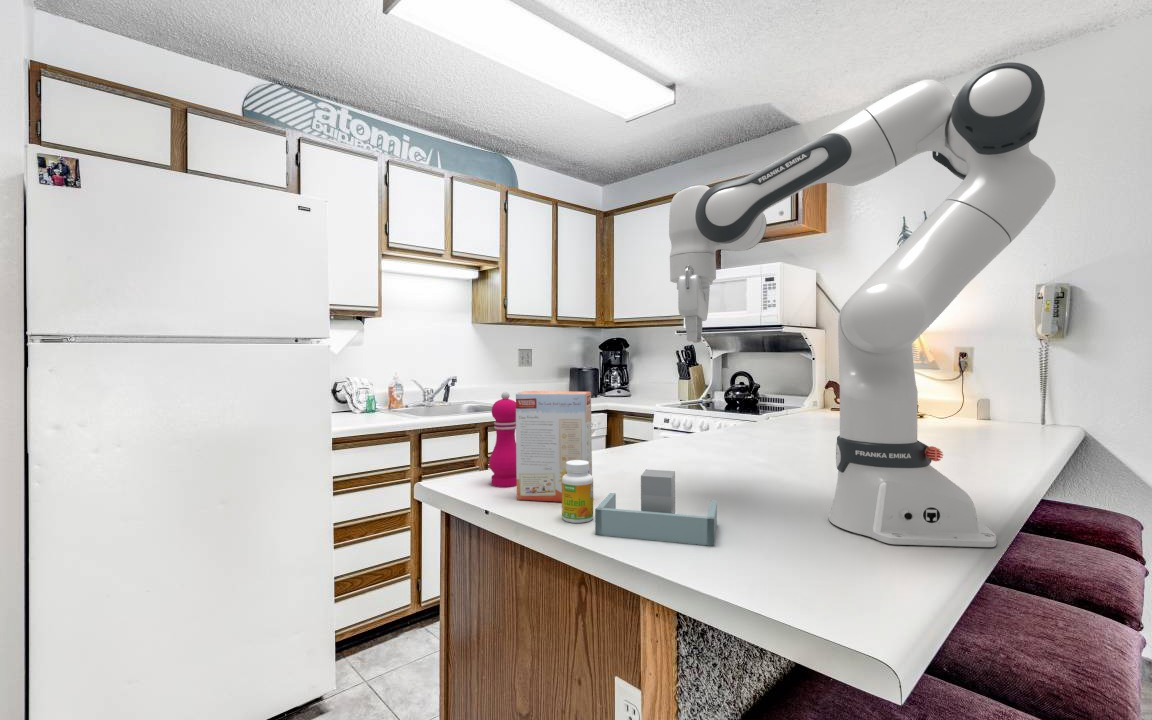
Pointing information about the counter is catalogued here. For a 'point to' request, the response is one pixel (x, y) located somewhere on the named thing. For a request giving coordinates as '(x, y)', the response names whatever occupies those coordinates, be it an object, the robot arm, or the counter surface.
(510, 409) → the pepper mill
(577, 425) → the cracker box
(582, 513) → the supplement bottle
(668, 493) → the tile stack
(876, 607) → the counter surface
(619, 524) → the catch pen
